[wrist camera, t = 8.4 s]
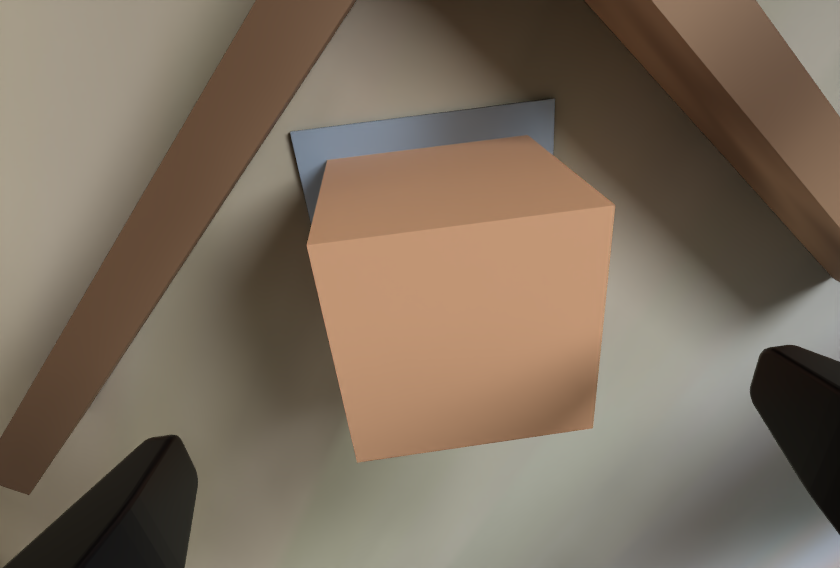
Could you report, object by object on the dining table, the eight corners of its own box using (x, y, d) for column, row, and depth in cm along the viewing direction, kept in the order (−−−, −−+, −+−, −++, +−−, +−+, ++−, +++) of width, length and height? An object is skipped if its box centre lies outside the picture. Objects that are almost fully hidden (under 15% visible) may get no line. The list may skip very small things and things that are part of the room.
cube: (527, 135, 12) (615, 204, 8) (526, 304, 15) (592, 428, 11) (327, 159, 12) (306, 244, 8) (359, 327, 15) (357, 462, 10)
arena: (867, 250, 15) (971, 300, 13) (466, 567, 21) (481, 646, 19) (446, -270, 9) (479, -385, 6) (45, 395, 15) (-23, 477, 12)
